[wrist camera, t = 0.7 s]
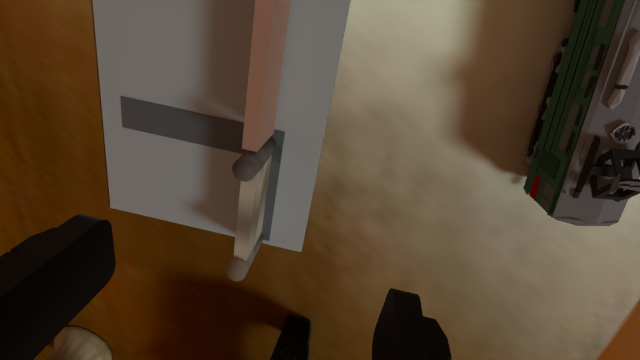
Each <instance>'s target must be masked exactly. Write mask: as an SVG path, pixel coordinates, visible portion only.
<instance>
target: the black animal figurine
mask: <svg viewBox="0 0 640 360" xmlns="http://www.w3.org/2000/svg"><path fill="white" fill-rule="evenodd" d="M310 335H311V322H310V321H309V320H307V319H302V318H296V317H294V316H290V315H289V316H288V317H287V319H286V322H285V325H284V327H283V330H282V332H281V334H280V337H279V339H278V341H277V344H276V346H275V349H274V351H273V354H272V357H271V359H270V360H308V359H309V343H310Z"/></svg>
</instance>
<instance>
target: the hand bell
mask: <svg viewBox="0 0 640 360" xmlns="http://www.w3.org/2000/svg"><path fill="white" fill-rule="evenodd" d="M48 360H112V355H111V351H110V349H109V347H108V346H107V344H106V343H105V342H104V341H103V340H102V339H101V338H100V337H99V336H97V335H96V334H94V333H93V332H91V331H89V330H87V329H84V328H81V327H76V326H69V327H64V328H63V330H62V331H61V332H60V333H59V334H58V335H57V336H56V337H55V338H54V348H53V351H52V354H51V355H50V357H49V359H48Z"/></svg>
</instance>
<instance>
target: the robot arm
mask: <svg viewBox="0 0 640 360" xmlns="http://www.w3.org/2000/svg"><path fill="white" fill-rule="evenodd" d="M115 264H116V261H115V252H114V244H113V235H112V227H111V224H110V222H109V221H107V220H104V219H100V218H95V217H91V216H87V215H83V214H78V215H75V216H73V217H72V218H70V219H69V220H68V221H66V222H65V223H63V224H62V225H60V226H59V227H57V228H55V227H54V228H51V229H48V230H46V231H43V232H41V233H38V234H36V235H33V236H30V237H29V238H27V239H26V240H24V241H23V242H21V243H20V244H18V245H17V246H15V247H14V248H12V249H11V251H10V252H6V253H5V254H3V255H2V256H0V360H33V359H34V358H35V357H36V356H37V355H38V354H39V353H40V352H41V351H42V350H43V349H44V348H45V347H46V346H47V345H48V344H49V343H50V342H51V341H52V340H53V339H54V338H55V337H56V336H57V335H58V334H59V333H60V332H61V331H62V330H63V328H64V327H65V326H66V325H67V324H68V323H69V322H70V321H71V320H72V319H73V318H74V317H75V316H76V315H77V314H78V313H79V312H80V311H81V310H82V309H83V308H84V307H85V306H86V305H87V304H88V303H89V302H90V301H91V300H92V299H93V298H94V297H95V296H96V295H97V294H98V293H99V292H100V290H101V289H102V288H103V287H104V286H105V285H106V284H107V283H108V282H109V280H110V279H111V277H112V275H113V273H114V270H115ZM451 358H452V357H451V353H450V348H449V344H448V339H447V337H446V335H445V334H444V332H443V330H442V329H441V327H440V326H439V324H438V322H437V321H436V319H432V318H428V317H424V316H423V314H422V308H421V302H420V297H419V295H418V294H414V293H410V292H405V291H401V290H397V289H393V288H391V289H390V290H389V292H388V294H387V297H386V300H385V302H384V305H383V308H382V311H381V313H380V316H379V319H378V322H377V324H376V328H375V331H374V337H373V344H372V360H451Z"/></svg>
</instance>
